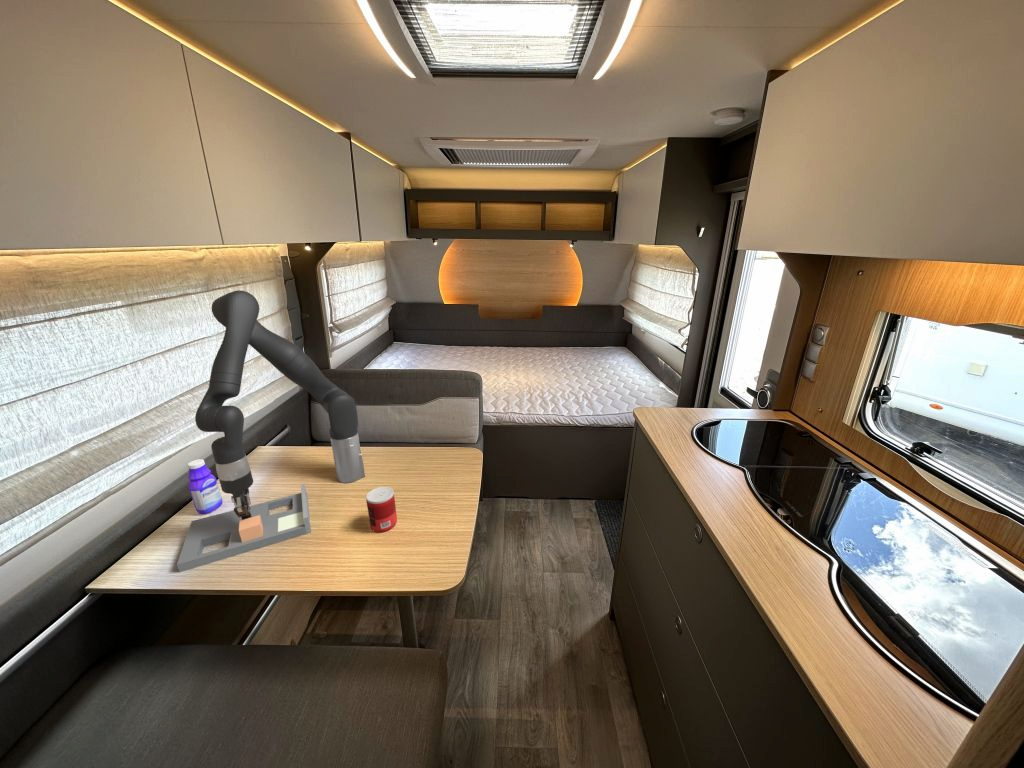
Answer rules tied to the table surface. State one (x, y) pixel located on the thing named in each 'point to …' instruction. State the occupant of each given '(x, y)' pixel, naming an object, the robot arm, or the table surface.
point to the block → (250, 528)
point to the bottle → (203, 487)
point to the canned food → (381, 509)
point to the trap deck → (228, 528)
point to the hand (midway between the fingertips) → (248, 523)
